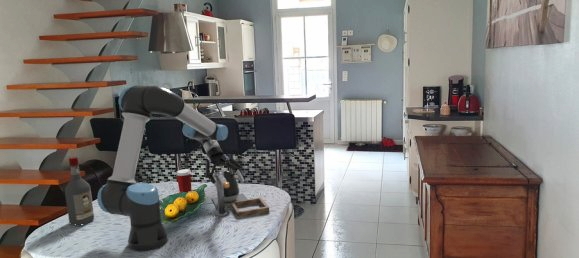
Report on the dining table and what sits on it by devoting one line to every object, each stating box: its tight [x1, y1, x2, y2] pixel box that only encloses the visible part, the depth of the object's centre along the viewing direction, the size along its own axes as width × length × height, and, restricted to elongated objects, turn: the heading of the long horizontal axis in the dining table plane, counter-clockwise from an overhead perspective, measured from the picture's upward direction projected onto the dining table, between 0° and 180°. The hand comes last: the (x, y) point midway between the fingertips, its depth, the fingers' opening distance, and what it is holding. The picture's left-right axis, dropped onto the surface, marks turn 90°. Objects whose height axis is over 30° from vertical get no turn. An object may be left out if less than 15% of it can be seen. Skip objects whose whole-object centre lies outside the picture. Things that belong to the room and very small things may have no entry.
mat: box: [211, 192, 248, 211], centre depth 227 cm, size 16×16×1 cm
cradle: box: [230, 197, 270, 219], centre depth 215 cm, size 15×15×2 cm
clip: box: [213, 170, 229, 188], centre depth 200 cm, size 21×4×2 cm, turn 18°
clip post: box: [214, 177, 230, 218], centre depth 209 cm, size 6×6×18 cm
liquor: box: [64, 156, 95, 226], centre depth 208 cm, size 9×9×30 cm
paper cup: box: [175, 168, 192, 194], centre depth 236 cm, size 8×8×14 cm
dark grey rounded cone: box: [223, 170, 240, 202], centre depth 225 cm, size 10×10×15 cm
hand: (231, 185), depth 224 cm, fingers open, 13 cm apart
